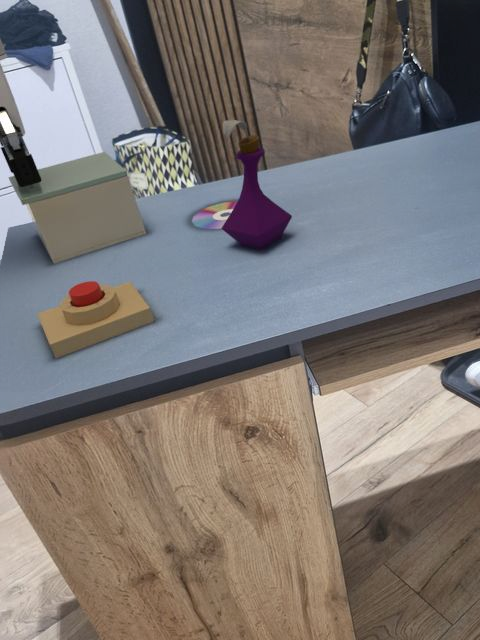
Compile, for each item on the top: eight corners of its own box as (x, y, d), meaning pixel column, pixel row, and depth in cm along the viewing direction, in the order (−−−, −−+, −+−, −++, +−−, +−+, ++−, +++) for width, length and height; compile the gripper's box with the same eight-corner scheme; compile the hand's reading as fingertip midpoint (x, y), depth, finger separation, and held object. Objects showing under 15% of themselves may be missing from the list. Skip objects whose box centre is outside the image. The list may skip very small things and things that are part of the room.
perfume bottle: (259, 228, 100) (234, 109, 89) (296, 236, 96) (274, 112, 85) (225, 248, 95) (195, 125, 85) (263, 257, 91) (235, 129, 81)
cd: (267, 200, 109) (267, 199, 109) (247, 228, 100) (247, 227, 100) (206, 202, 111) (205, 202, 111) (181, 230, 102) (181, 230, 102)
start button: (77, 311, 76) (71, 299, 75) (71, 300, 79) (65, 288, 78) (106, 301, 78) (102, 288, 77) (99, 290, 80) (95, 278, 79)
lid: (22, 205, 92) (6, 167, 88) (10, 182, 101) (-5, 147, 98) (127, 175, 97) (115, 138, 94) (106, 156, 107) (94, 122, 104)
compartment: (54, 264, 97) (28, 204, 92) (39, 237, 107) (15, 181, 102) (146, 234, 103) (127, 175, 97) (124, 211, 113) (106, 156, 107)
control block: (56, 359, 75) (43, 331, 73) (43, 328, 82) (31, 301, 79) (155, 322, 79) (145, 294, 77) (135, 295, 86) (126, 269, 84)
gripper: (-60, 50, 91) (-7, 170, 101) (-53, 64, 79) (7, 199, 88) (-5, 40, 94) (42, 158, 104) (11, 51, 81) (62, 184, 91)
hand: (26, 176), depth 96 cm, fingers open, 7 cm apart
